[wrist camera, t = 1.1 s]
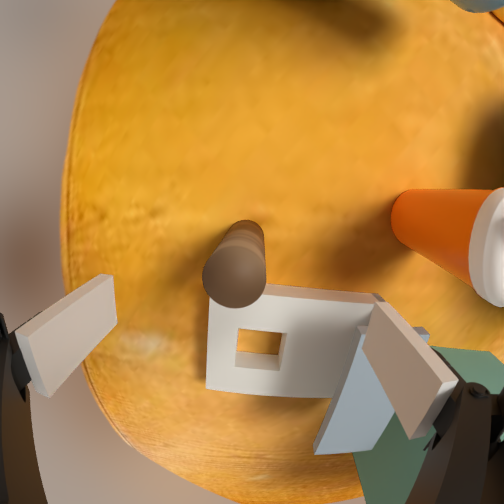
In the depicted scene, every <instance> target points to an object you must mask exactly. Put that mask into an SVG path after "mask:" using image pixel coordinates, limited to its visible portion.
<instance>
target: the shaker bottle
mask: <svg viewBox="0 0 504 504" xmlns="http://www.w3.org/2000/svg"><path fill="white" fill-rule="evenodd" d="M391 226H392V230H393V232H394V235H395V236H396V238H397V239H398V240H399V241H400V242H401V243H403V244H404V245H406V246H407V247H409V248H411V249H412V250H414V251H416V252H417V253H419V254H421V255H422V256H424V257H426V258H427V259H429V260H431V261H432V262H434V263H435V264H437V265H439V266H440V267H442V268H443V269H445V270H446V271H448V272H449V273H451V274H453V275H454V276H456V277H457V278H459V279H460V280H462V281H463V282H465V283H466V284H468V285H469V286H470V287H472V288H473V289H474V290H475V292H476V293H477V294H478V295H479V296H480V297H481V298H483V299H485V300H487V301H488V302H490V303H491V304H493V305H495V306H498V307H504V187H500V188H497V189H495V190H477V189H412V190H408V191H406V192H404V193H402V194H401V195H400V196H399V197H398V198H397V200H396V201H395V203H394V205H393V208H392V211H391Z"/></svg>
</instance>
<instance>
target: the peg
mask: <svg viewBox="0 0 504 504" xmlns="http://www.w3.org/2000/svg"><path fill="white" fill-rule="evenodd" d="M202 280H203V285H204V288H205V290H206V292H207V294H208V295H209V296H210V298H211V299H212V300H213V301H215V302H216V303H218V304H219V305H222V306H224V307H227V308H235V309H236V308H244V307H247V306H249V305H251V304H253V303H254V302H255V301H257V300H258V299H259V298H260V296H261V295H262V293H263V291H264V289H265V285H266V265H265V246H264V234H263V231H262V229H261V227H260V226H259V225H258V224H257V223H255V222H253V221H250V220H241V221H238V222H236V223H235V224H234V225H233V226H232V227H231V228H230V229H229V231H228V232H227V234H226V235H225V237H224V238H223V239H222V241H221V242H220V244H219V245H218V246H217V248H216V249H215V251H214V252H213V254H212V255H211V256H210V258H209V259H208V261H207V262H206V264H205V266H204V269H203V274H202Z"/></svg>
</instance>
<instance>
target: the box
mask: <svg viewBox="0 0 504 504" xmlns="http://www.w3.org/2000/svg"><path fill="white" fill-rule="evenodd" d="M430 347H432V348H433V349H435V350H436V351H438V352H440V353H441V354H442V355H443V357H444V358H445V359H446V361H448V362H449V363H450V364H451V366H452V367H453V368H454V369H455V370H456V371H457V372H458V373H459V375H460V376H461V377H462V378H463V379H464V380H465V381H466V383H468V382H476V383H479V384H482V385H483V386H485V387H486V388H487V389H488V390H489V391H490V394H500V392H501V390H502V389H503V387H504V364H503V363H502V362H501V361H499V360H498V359H497V358H496V357H495V356H494V355H493V354H492V353H491V352H488V351H476V350H464V349H454V348H445V347H436V346H430ZM435 432H436V430H435V428H434V426H433V425H432V427H431V428H430V430H429V431H428V433H427V434H426V436H423V437H419V438H415V439H411V440H409V438H408V436H407V434H406V432H405V430H404V428H403V426H402V424H401V422H400V420H399V418H398V416H397V414H396V412H394V414H393V416H392V417H391V419H390V421H389V423H388V424H387V426H386V428H385V429H384V431H383V433H382V434H381V436H380V438H379V439H378V441H377V442H376V444H375V445H374V447H373V448H372V450H367V451H358V452H352V453H353V457H354V460H355V464H356V467H357V471H358V475H359V478H360V482H361V486H362V489H363V493H364V497H365V501H366V504H405V502H406V500H407V498H408V496H409V494H410V492H411V490H412V488H413V486H414V483H415V481H416V479H417V476H418V474H419V472H420V469H421V467H422V464H423V461H424V459H425V456H426V453H427V451H428V448H429V447H428V448H427V449H426V450H425V451H423V449H424V448H425V446H426V445H427V443H428V442H429V441H430V439H431V438H432V437H433V435H434V434H435ZM500 439H501V442H502V441H503V440H504V433H503V434H502V435H501V437H500Z"/></svg>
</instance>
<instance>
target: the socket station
mask: <svg viewBox="0 0 504 504" xmlns="http://www.w3.org/2000/svg"><path fill="white" fill-rule="evenodd" d="M375 302H386V301H385V300H384V299H383V298H382V297H381V296H380V295H379V294H374V293H362V292H350V291H338V290H327V289H316V288H306V287H296V286H286V285H276V284H267V283H266V285H265V289H264V291H263V293H262V295H261V296H260V298H259V299H258V300H257V301H255V302H254V303H253V304H251V305H249V306H247V307H244V308H236V309H235V308H227V307H224V306H222V305H219V304H218V303H216V302H215V301H213V300H212V299H211V298H210V302H209V321H208V342H207V368H206V389H211V390H218V391H226V392H234V393H243V394H253V395H264V396H279V397H301V398H332V400H331V402H330V405H329V408H328V410H327V413H326V415H325V418H324V420H323V422H322V425H321V427H320V430H319V432H318V434H317V436H316V439H315V441H314V443H313V450H314V455H320V454H337V453H349V452H358V451H367V450H372V448H373V447H374V445H375V444H376V442H377V441H378V439H379V438H380V436H381V434H382V433H383V431H384V429H385V428H386V426H387V424H388V423H389V421H390V419H391V417H392V416H393V414H394V412H395V410H394V408H393V406H392V404H391V402H390V400H389V399H388V397H387V395H386V393H385V391H384V389H383V387H382V385H381V383H380V381H379V380H378V378H377V376H376V374H375V372H374V370H373V368H372V367H371V365H370V363H369V361H368V359H367V357H366V356H365V354H364V352H363V350H362V346H363V343H364V339H365V336H366V332H367V329H368V325H369V322H370V318H371V314H372V311H373V307H374V303H375ZM239 328H241V329H249V330H259V331H269V332H280V333H282V338H281V343H280V349H279V354H278V355H272V354H261V353H251V352H242V351H237V342H238V333H239ZM412 328H413V329H414V330H415V331H416V332H417V333H418V334H419V335H420V337H421V338H422V339H423V340H424V341H425V342H426V343H427V341H428V339H429V336H430V334H429V333H428V332H427V331H426V330H425V329H424V328H423V327H412Z"/></svg>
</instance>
